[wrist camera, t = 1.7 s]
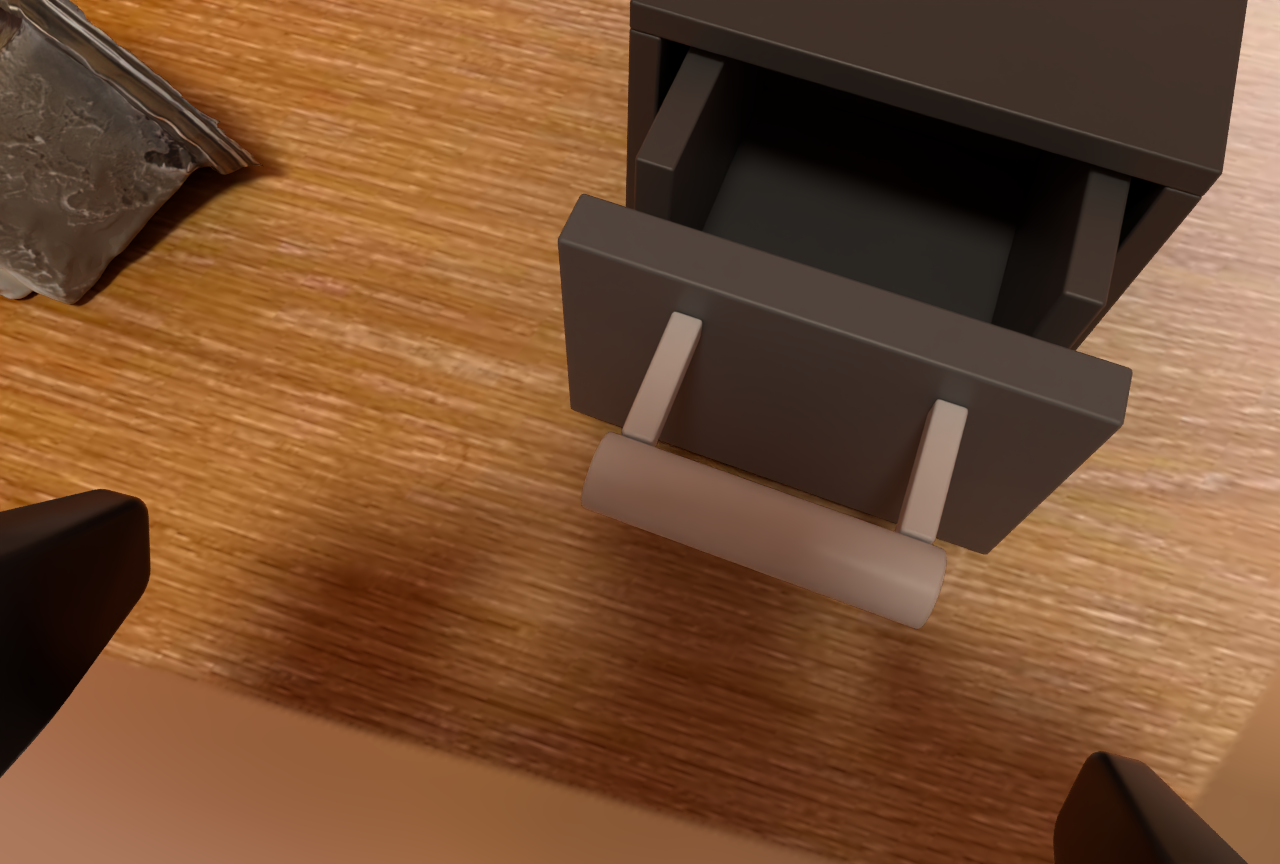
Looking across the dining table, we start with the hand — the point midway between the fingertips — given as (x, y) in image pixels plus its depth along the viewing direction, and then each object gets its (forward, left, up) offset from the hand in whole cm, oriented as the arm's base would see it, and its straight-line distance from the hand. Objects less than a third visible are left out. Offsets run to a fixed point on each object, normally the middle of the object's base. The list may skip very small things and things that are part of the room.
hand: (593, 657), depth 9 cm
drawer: (+7, -9, -12) cm, 17 cm away
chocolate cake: (+22, +8, -13) cm, 26 cm away
